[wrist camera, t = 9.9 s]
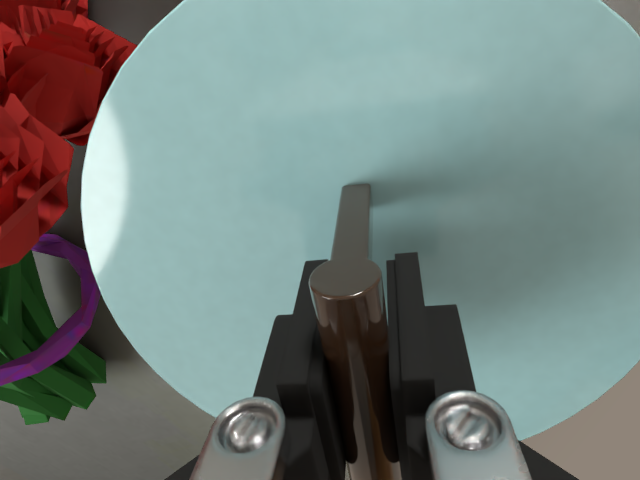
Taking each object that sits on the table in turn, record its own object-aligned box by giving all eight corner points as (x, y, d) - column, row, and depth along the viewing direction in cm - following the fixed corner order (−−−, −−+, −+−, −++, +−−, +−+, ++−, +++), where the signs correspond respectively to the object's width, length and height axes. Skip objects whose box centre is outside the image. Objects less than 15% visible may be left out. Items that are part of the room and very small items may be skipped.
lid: (193, 438, 19) (127, 611, 14) (0, 3, 11) (-302, 41, 6) (625, 432, 16) (734, 643, 11) (760, -145, 9) (1295, -287, 4)
